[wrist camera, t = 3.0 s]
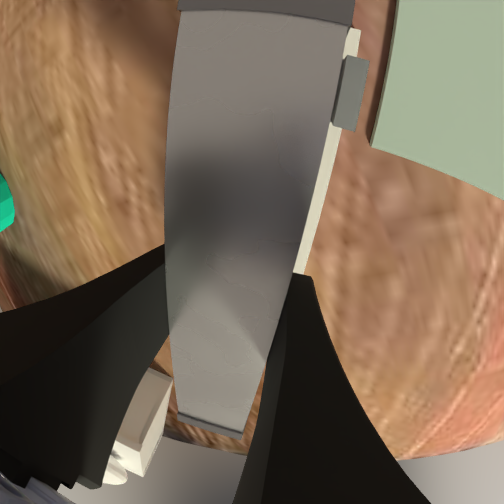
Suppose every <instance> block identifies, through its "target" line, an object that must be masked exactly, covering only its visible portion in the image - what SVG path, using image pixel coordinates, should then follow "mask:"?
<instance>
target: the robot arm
mask: <svg viewBox="0 0 504 504" xmlns="http://www.w3.org/2000/svg"><path fill="white" fill-rule="evenodd" d="M168 335H169V322H168V309H167V292H166V272H165V244H163V245H161V246H159V247H157V248H155V249H153V250H151V251H149V252H147V253H145V254H143V255H142V256H140V257H138V258H136V259H134V260H132V261H130V262H128V263H126V264H124V265H122V266H120V267H119V268H117V269H115V270H113V271H111V272H108V273H106V274H104V275H102V276H100V277H98V278H96V279H94V280H92V281H90V282H88V283H86V284H83V285H81V286H79V287H77V288H74V289H72V290H69V291H67V292H64V293H62V294H59V295H57V296H54V297H52V298H49V299H46V300H43V301H40V302H36V303H33V304H30V305H27V306H24V307H21V308H17V309H14V310H10V311H6V312H2V313H0V473H1V474H2V475H3V476H4V477H5V478H6V479H5V478H3V477H2V476H1V474H0V504H75V503H73V502H72V501H70V500H69V499H67V498H66V497H64V496H63V495H61V494H60V493H58V492H57V490H58V488H59V486H60V484H63V485H64V486H66V487H67V488H69V489H72V488H73V486H74V484H75V482H78V483H80V484H81V485H83V486H85V487H87V488H89V489H97V488H100V487H101V486H102V482H103V478H104V474H105V471H106V467H107V464H108V461H109V457H110V454H111V451H112V448H113V446H114V443H115V440H116V437H117V434H118V432H119V429H120V427H121V424H122V422H123V419H124V417H125V414H126V412H127V409H128V407H129V405H130V402H131V400H132V398H133V396H134V394H135V391H136V389H137V387H138V385H139V383H140V381H141V380H142V378H143V376H144V374H145V373H146V371H147V369H148V368H149V366H150V364H151V363H152V361H153V360H154V358H155V356H156V355H157V353H158V351H159V350H160V348H161V347H162V345H163V343H164V342H165V340H166V339H167V337H168ZM232 504H431V503H430V502H429V501H428V499H427V498H426V497H425V496H424V495H423V494H422V493H421V492H420V490H419V489H418V488H417V487H416V485H415V484H414V483H413V482H412V481H411V480H410V478H409V477H408V476H407V475H406V474H405V472H404V471H403V469H402V468H401V467H400V465H399V464H398V462H397V461H396V460H395V458H394V457H393V456H392V454H391V453H390V451H389V450H388V448H387V447H386V445H385V444H384V442H383V440H382V439H381V437H380V436H379V434H378V432H377V431H376V429H375V428H374V426H373V425H372V423H371V421H370V420H369V418H368V417H367V415H366V413H365V411H364V409H363V408H362V406H361V404H360V402H359V400H358V398H357V397H356V395H355V393H354V391H353V389H352V387H351V385H350V383H349V381H348V379H347V376H346V374H345V372H344V370H343V368H342V365H341V363H340V361H339V358H338V356H337V354H336V351H335V349H334V346H333V344H332V341H331V339H330V336H329V333H328V330H327V327H326V324H325V322H324V319H323V316H322V313H321V309H320V306H319V303H318V299H317V295H316V291H315V287H314V282H313V280H312V278H311V276H307V275H303V274H298V273H294V272H293V273H292V277H291V280H290V284H289V287H288V291H287V294H286V298H285V301H284V305H283V308H282V311H281V315H280V318H279V321H278V325H277V328H276V331H275V335H274V338H273V341H272V344H271V348H270V351H269V354H268V357H267V364H266V370H265V377H264V383H263V390H262V396H261V402H260V408H259V414H258V419H257V424H256V428H255V431H254V435H253V439H252V442H251V446H250V449H249V452H248V456H247V459H246V462H245V466H244V469H243V472H242V476H241V479H240V482H239V485H238V489H237V491H236V494H235V497H234V500H233V503H232Z"/></svg>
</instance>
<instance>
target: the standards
mask: <svg viewBox="0 0 504 504" xmlns="http://www.w3.org/2000/svg"><path fill="white" fill-rule="evenodd" d="M360 34H361V30H357V29H354V28H350V30H349V32H348V35H347V37H346V41H345V47H344V53H343V58H342V64H341V69H340V74H339V79H338V85H337V90H336V95H335V100H334V105H333V109H332V114H331V119H330V124H329V128H328V133H327V137H326V142H325V146H324V151H323V155H322V160H321V164H320V168H319V172H318V177H317V181H316V185H315V189H314V193H313V197H312V201H311V205H310V209H309V213H308V217H307V221H306V225H305V229H304V233H303V236H302V240H301V244H300V248H299V251H298V255H297V259H296V262H295V266H294V270H293V272H294V273H298V274H303V273H304V270H305V266H306V263H307V260H308V256H309V253H310V249H311V246H312V242H313V239H314V236H315V232H316V228H317V225H318V221H319V218H320V214H321V210H322V207H323V203H324V199H325V195H326V192H327V188H328V184H329V180H330V176H331V172H332V168H333V164H334V160H335V156H336V152H337V147H338V143H339V139H340V135H341V130H342V128H343V129H346V130H350V131H354V132H355V129H356V124H357V120H358V116H359V111H360V107H361V102H362V97H363V93H364V88H365V83H366V78H367V73H368V67H369V62H370V61H368V60H365V59H361V58H358V57H357V51H358V46H359V40H360Z"/></svg>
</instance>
